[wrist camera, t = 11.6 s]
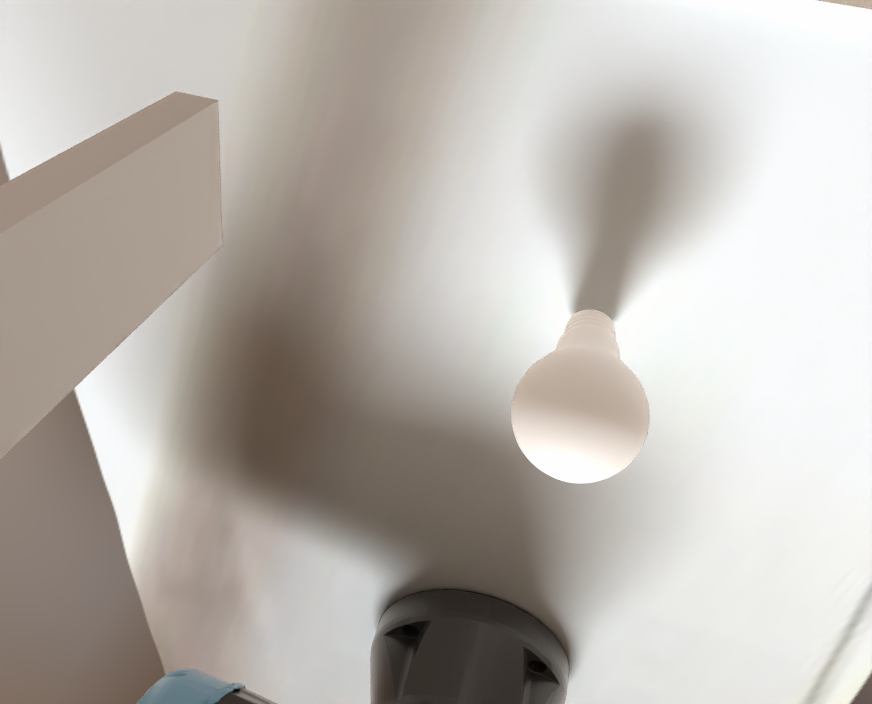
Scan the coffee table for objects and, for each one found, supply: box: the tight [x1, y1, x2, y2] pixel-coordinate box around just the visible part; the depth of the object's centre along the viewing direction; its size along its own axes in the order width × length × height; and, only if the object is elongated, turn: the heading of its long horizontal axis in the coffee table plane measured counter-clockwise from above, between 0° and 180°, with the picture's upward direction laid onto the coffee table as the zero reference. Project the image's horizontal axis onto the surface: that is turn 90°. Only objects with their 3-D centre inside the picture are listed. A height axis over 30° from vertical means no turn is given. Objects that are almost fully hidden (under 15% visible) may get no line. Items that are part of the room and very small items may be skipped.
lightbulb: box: [511, 309, 649, 483], centre depth 37 cm, size 6×6×11 cm
